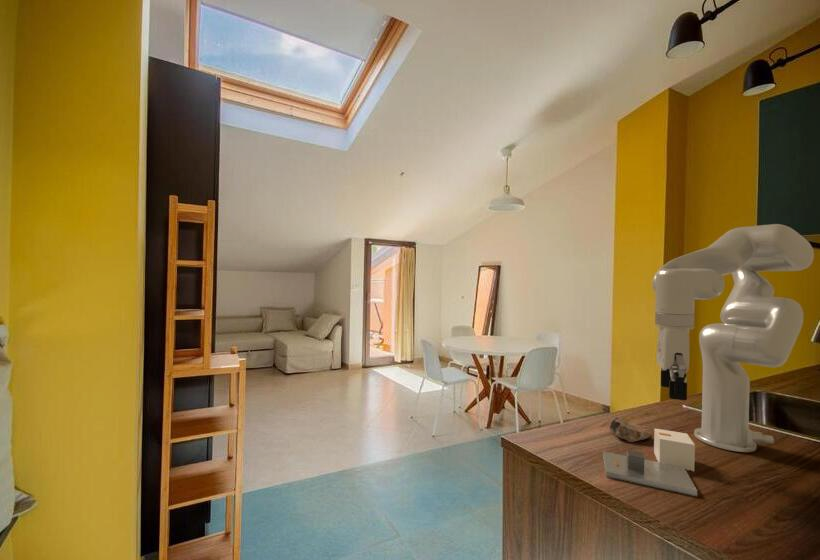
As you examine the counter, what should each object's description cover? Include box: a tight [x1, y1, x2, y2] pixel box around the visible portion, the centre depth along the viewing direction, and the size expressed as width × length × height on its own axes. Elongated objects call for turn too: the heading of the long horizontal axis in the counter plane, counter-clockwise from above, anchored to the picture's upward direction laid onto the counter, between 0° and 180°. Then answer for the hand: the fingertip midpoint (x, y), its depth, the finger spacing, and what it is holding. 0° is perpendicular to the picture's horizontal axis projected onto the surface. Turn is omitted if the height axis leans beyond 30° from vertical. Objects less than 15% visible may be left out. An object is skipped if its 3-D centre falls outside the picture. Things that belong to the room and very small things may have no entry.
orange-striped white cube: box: [653, 428, 696, 472], centre depth 86 cm, size 7×7×6 cm
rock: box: [609, 416, 651, 443], centre depth 100 cm, size 9×6×10 cm
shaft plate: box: [602, 449, 698, 497], centre depth 80 cm, size 16×10×4 cm, turn 65°
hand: (672, 392), depth 86 cm, fingers open, 9 cm apart
